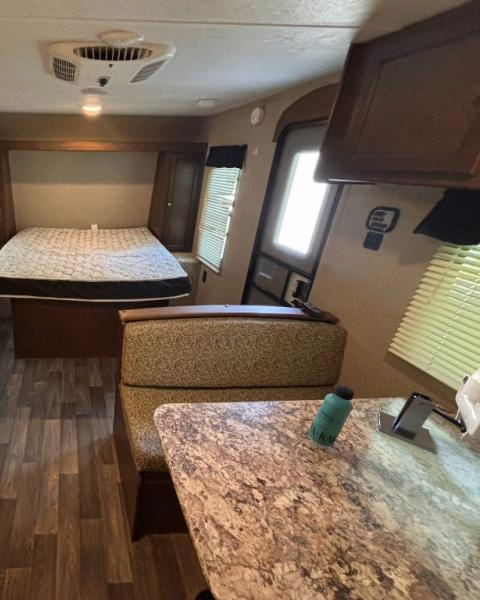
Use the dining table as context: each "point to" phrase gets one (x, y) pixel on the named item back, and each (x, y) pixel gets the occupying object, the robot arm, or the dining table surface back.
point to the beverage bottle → (332, 416)
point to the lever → (448, 417)
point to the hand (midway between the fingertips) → (461, 431)
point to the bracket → (410, 421)
